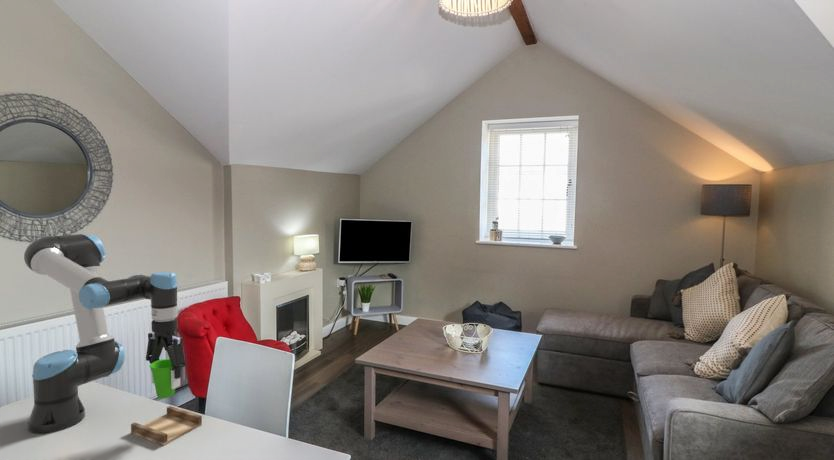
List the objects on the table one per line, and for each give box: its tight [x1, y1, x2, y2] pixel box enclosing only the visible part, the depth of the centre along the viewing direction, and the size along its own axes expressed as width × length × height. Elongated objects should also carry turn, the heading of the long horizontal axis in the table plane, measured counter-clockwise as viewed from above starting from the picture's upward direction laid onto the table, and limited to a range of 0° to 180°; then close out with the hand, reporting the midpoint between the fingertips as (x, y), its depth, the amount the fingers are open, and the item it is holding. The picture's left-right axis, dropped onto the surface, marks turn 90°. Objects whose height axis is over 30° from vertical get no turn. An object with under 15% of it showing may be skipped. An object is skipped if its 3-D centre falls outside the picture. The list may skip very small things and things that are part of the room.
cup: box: [149, 357, 176, 399], centre depth 146 cm, size 9×9×11 cm
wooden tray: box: [130, 405, 203, 446], centre depth 148 cm, size 16×14×3 cm
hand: (165, 384), depth 147 cm, fingers closed on cup, 9 cm apart
